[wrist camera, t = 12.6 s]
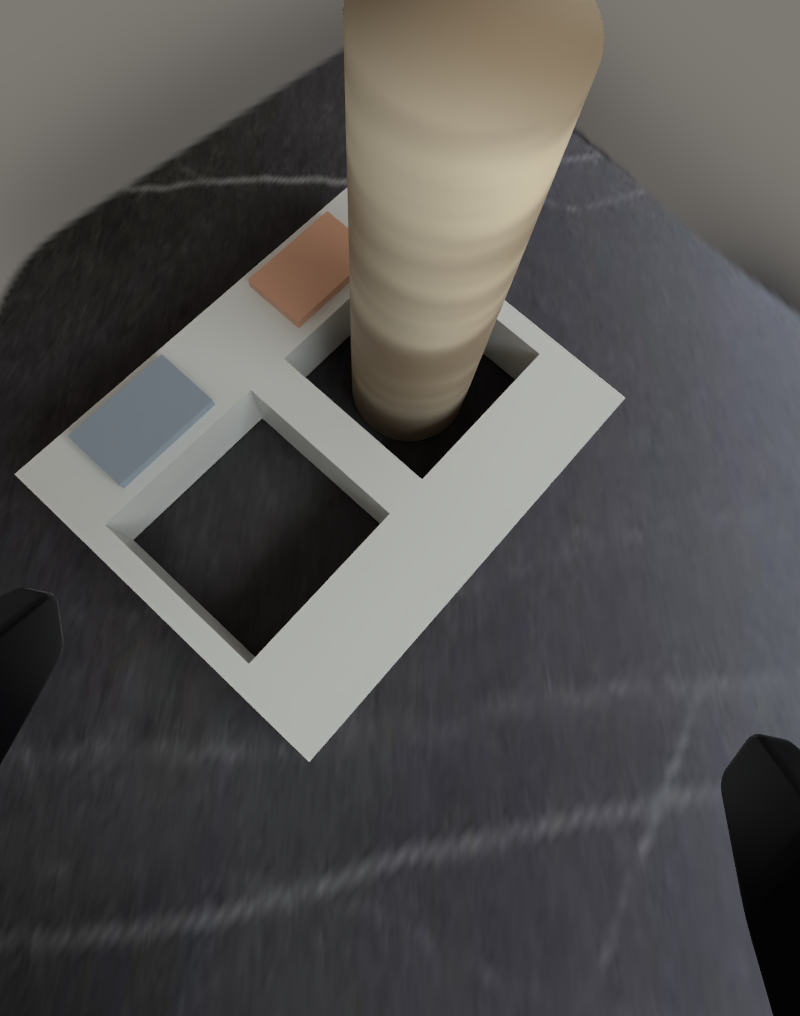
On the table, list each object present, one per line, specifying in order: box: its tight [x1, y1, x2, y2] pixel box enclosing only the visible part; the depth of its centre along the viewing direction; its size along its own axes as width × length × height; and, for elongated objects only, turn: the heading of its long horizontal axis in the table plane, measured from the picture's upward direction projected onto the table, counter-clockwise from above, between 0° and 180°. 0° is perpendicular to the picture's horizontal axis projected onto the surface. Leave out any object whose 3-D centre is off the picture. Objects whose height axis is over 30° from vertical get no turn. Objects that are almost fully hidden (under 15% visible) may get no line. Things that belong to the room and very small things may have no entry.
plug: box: [343, 0, 604, 442], centre depth 17 cm, size 4×4×14 cm
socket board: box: [15, 188, 625, 762], centre depth 21 cm, size 16×13×3 cm
